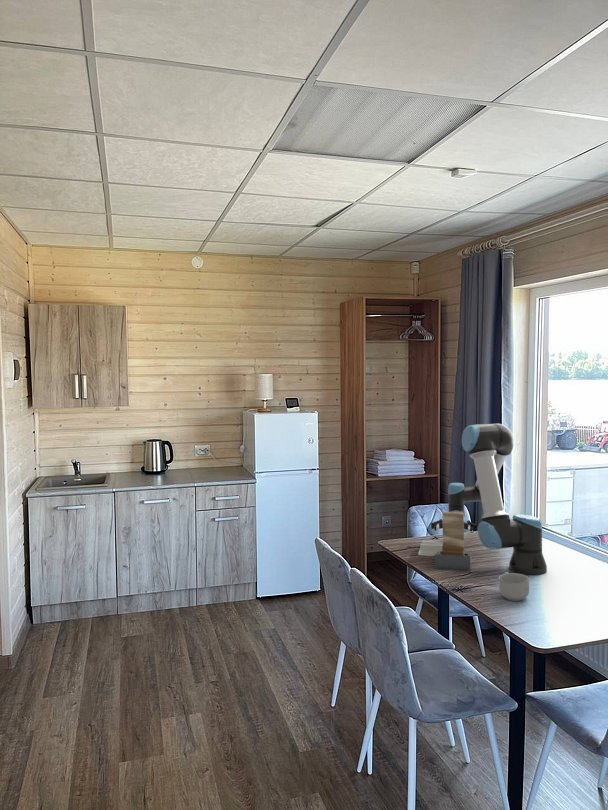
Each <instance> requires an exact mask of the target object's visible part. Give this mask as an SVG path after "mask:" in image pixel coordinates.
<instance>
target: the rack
mask: <svg viewBox="0 0 608 810" xmlns="http://www.w3.org/2000/svg"><path fill="white" fill-rule="evenodd" d="M433 557H434V563H433V568H434V569H435V570H436V569H437V570H450V571H452V570H453V571H463V572H471V571H472V570H471V568H472V553H468V552H464V555H449V554H442V551H440V554H439V552H437V554H434V556H433Z"/></svg>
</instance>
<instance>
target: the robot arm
mask: <svg viewBox="0 0 608 810" xmlns="http://www.w3.org/2000/svg"><path fill="white" fill-rule="evenodd" d="M514 437H515V436H514V434H513V432H512V431H511V429H510V428H509V427H507V426H506V425H504V424H502V423H484V424H483V423H482V424H481V423H479V424H477V423H476V424H470V425H467V426H466V427H465V428H464V430H463V432H462V434H461V446H462V449H463V451H465V452H466V453H467V452H468V454H469V457H470V459H472V460H473V462H474V468H475V474H476V479H477V480H476V481H475V484H474V485H471V486H465V484H464V483H462V482H451V483H449V484H448V486H447V487H448V488H447V496H448V498H447V500H448V512H464V518H465V517H466V513H465V503H471V502H481V504H482V505H481V506H482V511H483V514H482V516H481V518H480V520H481V521H480V522H479V523H478V525H477V524H476V523H473V522H472V521H471V520H469V519H468V520H467V521H464V530H467V535H468V536H470V535H471V533H473V532H474V531H475V532H477V533H478V537H479V540H480V542H481V544H482V545H483V546H484V547H486V548H487V549H488V550H489V549H490V550H500V549H508V548H509V549H510V548H512V549H513V550H512V554H511V557H510V560H509V564H508V565H509V570H510V571H512V572H513V573H517V574H523V575H530V576H531V575H534V576H535V575H543V574H546V573H547V571H548V570H547V569H548V568H547V567H548V565H547V563H546V560H545V556H544V555H543V523H542V520H541V518H538V517H536V516H532V515H528V514H519V513H517V514H513V515H512V518H510V514H509V513H508V512H506V511H505V507H504V503H503V498H502V491H501V486H500V482H499V476H498V475H499V473H500V470H501V468H502V467H503V465H504V463H505V461H506V459H507V457H508V456H509V455H511V453H512V451H513V449H514V445H515V438H514ZM430 529H431V530H434V531H435V532H436V533H435V534H436V535H437V534H439V532H440V529H441V530H442V529H443V520H442V518H439V520H437V521H433V522H431V523H430Z"/></svg>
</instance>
